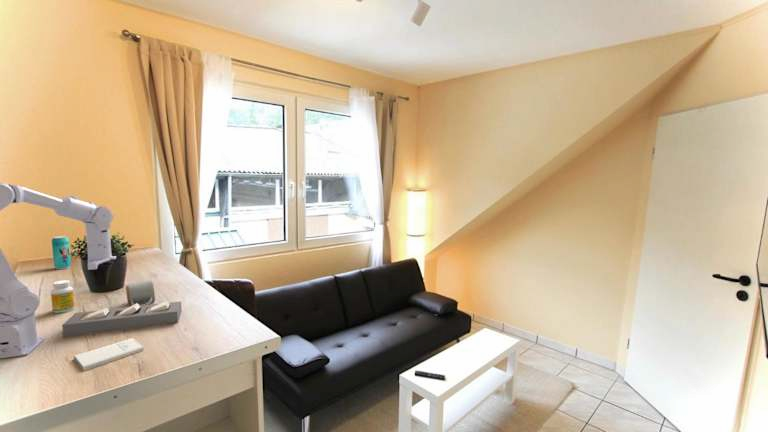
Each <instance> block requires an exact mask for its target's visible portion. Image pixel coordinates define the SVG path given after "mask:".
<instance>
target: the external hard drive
mask: <svg viewBox="0 0 768 432" xmlns="http://www.w3.org/2000/svg"><path fill="white" fill-rule="evenodd" d="M142 351H144V346H143V345H142V344H141V343H139V342H138V341H137V340H136V339H134V338H133V337H131V338H128V339H125V340H122V341H121V340H120V341H118V342H115V343H112V344H109V345H105V346H102V347H99V348H96V349H92V350H91V349H90V350H88V351H85V352H82V353H79V354H75V355H73V360H74V361H75V362H76V363H77V365H78V366H79V367H80V368H81V370H82V371H83V372H84V371H88V370H89V369H93V368H97V367H98V366H99V367H100V366H102V365H104V364H107V363H110V362H113V361H116V360H119V359H122V358H125V357H128V356H131V355H133V354H137V353H139V352H142Z"/></svg>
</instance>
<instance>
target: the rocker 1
mask: <svg viewBox="0 0 768 432" xmlns="http://www.w3.org/2000/svg"><path fill="white" fill-rule="evenodd" d="M108 309H109V308H108V307H105V308H101V309H99V311H97V310H95V311H96V312H93V313H90V314H88V315H85V316H84V317H83V318H82V319H81V320H84V319H93V318H101V317H104V316H106V315H107V313H108V312H109V310H108Z"/></svg>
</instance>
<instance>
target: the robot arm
mask: <svg viewBox="0 0 768 432" xmlns="http://www.w3.org/2000/svg"><path fill="white" fill-rule="evenodd" d="M20 203H25V204H30V205H34V206H39V207H43V208H48V209H51V210H53V211H54V212H55V214H56V215H58V216H61V217H64V218H67V219H71V220H76V221H80V222H81V223H83V224H85V226H84V227H85V236H86V248H87V250H86V251H87V270H88V271H89V272H90V273H91V275H92V277H93V279H94V282H95V284H96V286H97V288H98V287H99V288H100V287H105V286H107V285H108V281H109V276H110V273H111V269H112V267H113V265H114V261H111V260H116V259H117V255H114V256H113V255H112V245H111V244H112V243H111V231H110V228H111V223H112V222H113V220H114V216H115V215H114V214H113V213H112V211H111V210H110V208H108V207H107V206H101V205H100V206H99V205H96V204H95V202H92V201H89V202H87V201H83V200H81V199H79V197H77V196H73V195H70V196H63V197H60V198H58V197H55V196H53V195H49V194H45V193H42V192H39V191H36V190H33V189H30V188H27V187H25V186H20V185H16V184H11V183H5V182H2V181H0V212H1V211H2V210H4V209H5V208H7V207H8V206H10V205H11V204H20ZM40 303H41V302H40V298H39V296H38V295H37V294H35V293H33V292H31V291H30V289H29V288H28V286H27V285H25V284H24V283H23V282H22V281H20V280H19V279H18V277H17V275H16V274H15V272H14V270H13V268H12V266H11V265H10V263H9V261H8V259H7V257H6V256H5V254H4V252H3V250H2V248H1V247H0V359H7V358H14V357H20V356H21V357H22V356H27V355H29V354H30V353H31V352H32V351H33V350H35V348H36V347H38V345H40V344H41V343H42V342H43V341H44V340H45V339H46V337H45V336H41V337H38V331H37V324H36V322H37V321H36V313H35V312H36V311H37V309H38V308H39V306H40Z"/></svg>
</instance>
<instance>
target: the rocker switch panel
mask: <svg viewBox="0 0 768 432" xmlns="http://www.w3.org/2000/svg"><path fill="white" fill-rule="evenodd" d="M158 304H159V303H155V304H154V303H153V304H152V303H151V304H150V305H143V304H142V305H143V306H140V307H139V309H138V310H137V311H135V312H134V313H132V314H127V315H119V316H116V315H117V314H118V313H120V312H121V311H123V310H125V309H127V308H129V307H130V306H127V307H125V306H124V307H117V308H108V310H109V312H108V313H107V315H106V316H104V317H101V318H93V319H84V320H81V319H82V318H83V317H84V316H85V315H88V314H90V313H93V312H96V311H99V310H100V309H99V310H98V309H97V310H91V311H90V310H89V311H88V310H87V311H82V312H75V313H74V314H73V315H72V316H71V317H69V318H68V319H67V320H66V321H65V322H64V323H63V324H61V325H62V335H63V338H68V337H74V336H82V335H90V334H91V335H93V334H98V333H106V332H114V331H122V330H128V329H136V328H144V327H153V326H160V325H168V324H174V323H179V320H180V317H181V314H182V310H183V309H182V301H171V302H169V304H170V305H169V307H168V309H166V310H162V311H153V312H146V310H147V309H148V308H151V307H153V306H156V305H158Z"/></svg>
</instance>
